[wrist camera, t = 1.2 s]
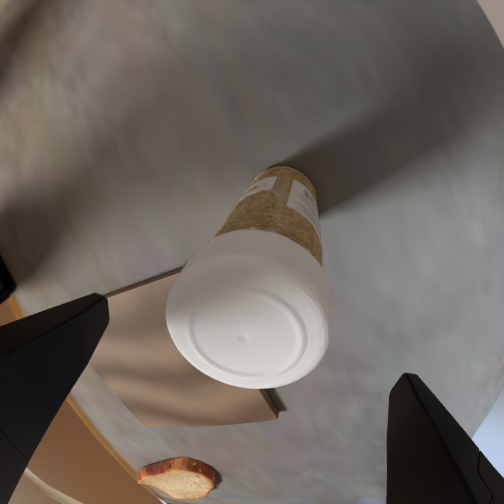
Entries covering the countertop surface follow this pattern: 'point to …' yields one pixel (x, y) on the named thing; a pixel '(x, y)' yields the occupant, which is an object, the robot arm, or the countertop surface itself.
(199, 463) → the slice of bread
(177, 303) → the sprinkles bottle
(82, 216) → the countertop surface
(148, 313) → the walnut board
